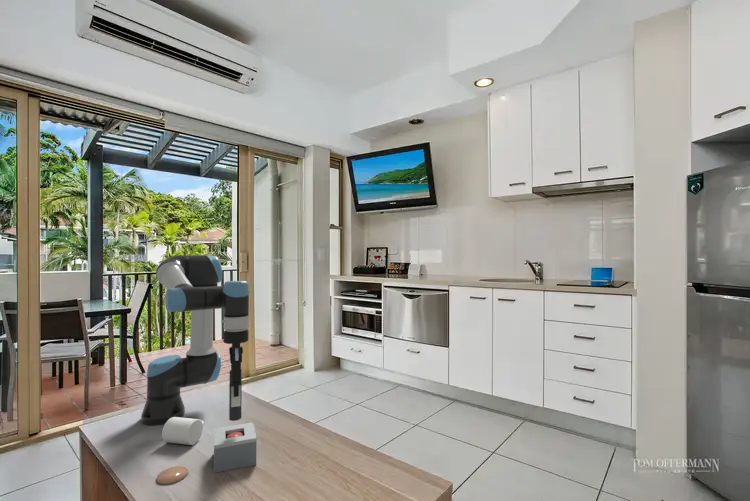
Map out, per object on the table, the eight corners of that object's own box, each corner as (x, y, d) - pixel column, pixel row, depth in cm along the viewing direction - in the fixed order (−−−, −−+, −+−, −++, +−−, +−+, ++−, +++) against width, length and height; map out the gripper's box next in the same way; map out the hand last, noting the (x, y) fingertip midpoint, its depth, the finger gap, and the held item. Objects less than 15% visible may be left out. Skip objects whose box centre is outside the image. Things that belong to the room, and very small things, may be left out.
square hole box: (214, 453, 120) (214, 428, 120) (252, 446, 125) (253, 422, 125) (213, 473, 109) (214, 445, 109) (256, 464, 114) (256, 438, 114)
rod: (229, 417, 118) (229, 369, 119) (241, 415, 119) (241, 368, 120) (229, 421, 115) (229, 372, 115) (241, 419, 116) (242, 371, 117)
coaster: (158, 471, 110) (159, 469, 110) (189, 465, 113) (189, 463, 113) (154, 487, 102) (154, 484, 102) (186, 480, 106) (187, 478, 106)
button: (226, 443, 118) (226, 433, 118) (242, 440, 120) (242, 430, 120) (227, 449, 114) (227, 440, 114) (242, 446, 116) (243, 437, 116)
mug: (187, 449, 123) (187, 425, 123) (161, 446, 125) (161, 422, 125) (210, 433, 134) (210, 410, 135) (186, 430, 136) (186, 408, 137)
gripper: (223, 326, 124) (222, 396, 123) (223, 335, 109) (223, 415, 108) (246, 324, 127) (246, 393, 126) (250, 333, 112) (250, 411, 111)
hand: (235, 403), depth 117 cm, fingers closed on rod, 3 cm apart
